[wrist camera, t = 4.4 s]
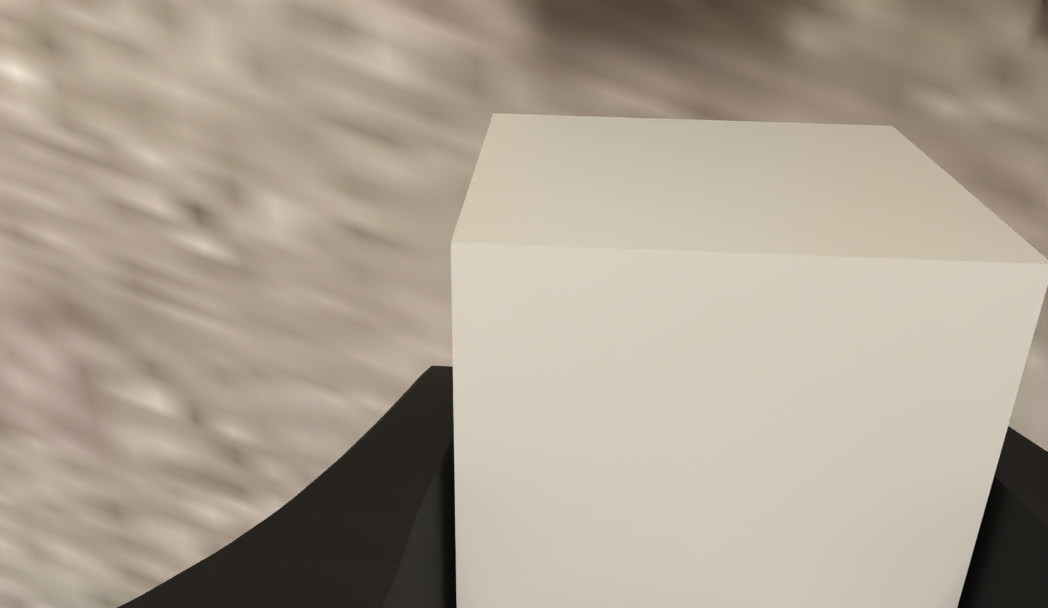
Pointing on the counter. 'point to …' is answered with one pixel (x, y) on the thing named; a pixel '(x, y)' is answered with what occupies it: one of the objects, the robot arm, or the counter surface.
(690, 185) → the cream brick
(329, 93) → the counter surface
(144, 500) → the counter surface
